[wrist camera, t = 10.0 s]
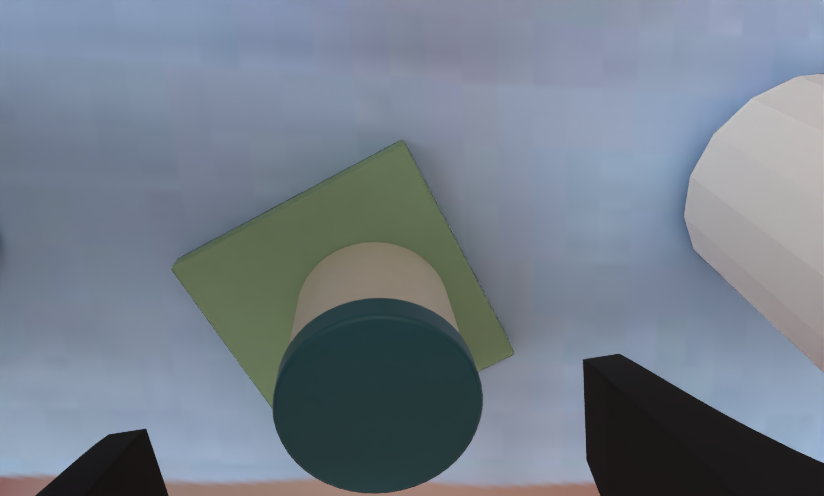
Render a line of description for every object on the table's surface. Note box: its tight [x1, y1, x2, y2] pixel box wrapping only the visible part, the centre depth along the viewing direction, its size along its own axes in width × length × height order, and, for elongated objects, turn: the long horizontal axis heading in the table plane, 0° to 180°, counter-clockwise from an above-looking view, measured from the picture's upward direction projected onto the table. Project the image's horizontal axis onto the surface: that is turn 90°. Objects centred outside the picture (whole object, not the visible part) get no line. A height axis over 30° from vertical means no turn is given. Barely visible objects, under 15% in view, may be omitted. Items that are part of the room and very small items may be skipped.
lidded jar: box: [272, 242, 483, 493], centre depth 13 cm, size 4×4×4 cm
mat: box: [171, 140, 514, 408], centre depth 15 cm, size 6×6×1 cm
